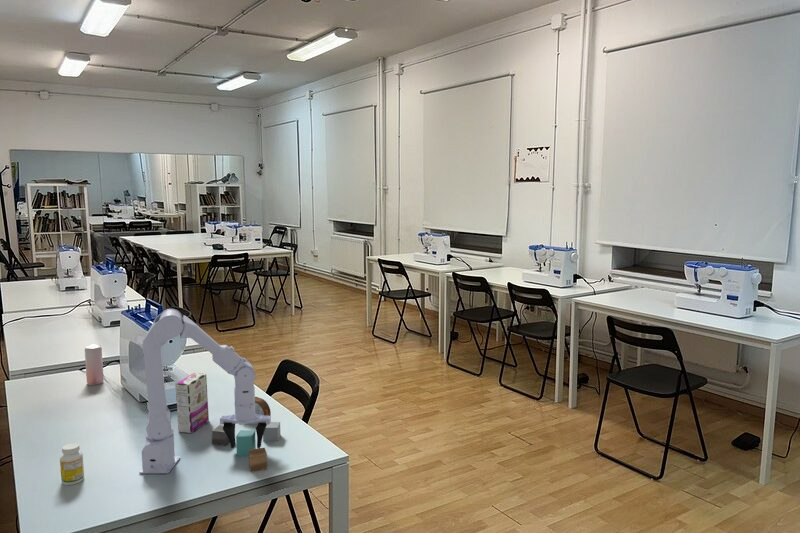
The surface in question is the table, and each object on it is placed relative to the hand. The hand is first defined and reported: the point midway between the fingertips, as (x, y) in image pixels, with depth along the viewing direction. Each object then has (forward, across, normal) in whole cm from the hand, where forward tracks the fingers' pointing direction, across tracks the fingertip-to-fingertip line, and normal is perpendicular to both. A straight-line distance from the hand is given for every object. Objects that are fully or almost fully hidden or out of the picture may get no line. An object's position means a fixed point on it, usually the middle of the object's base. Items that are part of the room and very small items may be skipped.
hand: (246, 446), depth 175 cm
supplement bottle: (+2, -42, -17) cm, 45 cm away
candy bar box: (+2, -22, +19) cm, 29 cm away
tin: (+2, -4, +24) cm, 24 cm away
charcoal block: (+2, -9, +7) cm, 12 cm away
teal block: (+2, 0, 0) cm, 2 cm away
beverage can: (+2, -75, +61) cm, 97 cm away
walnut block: (+2, +6, -9) cm, 11 cm away
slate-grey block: (+2, +6, +10) cm, 12 cm away
